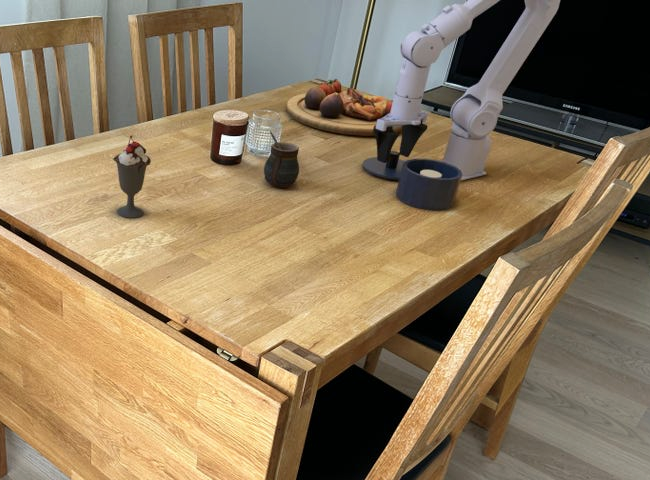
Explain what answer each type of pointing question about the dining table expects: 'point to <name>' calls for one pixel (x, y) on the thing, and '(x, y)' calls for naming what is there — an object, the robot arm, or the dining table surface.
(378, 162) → the lid
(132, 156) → the sundae
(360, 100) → the wooden plate
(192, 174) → the dining table surface
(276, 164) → the mate gourd
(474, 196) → the dining table surface
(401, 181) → the dark blue round container
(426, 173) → the tub
